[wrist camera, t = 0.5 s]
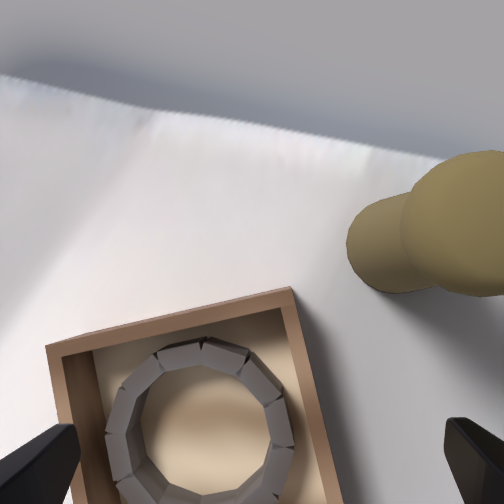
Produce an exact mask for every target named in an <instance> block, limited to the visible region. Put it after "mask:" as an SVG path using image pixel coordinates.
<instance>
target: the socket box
mask: <svg viewBox="0 0 504 504" xmlns="http://www.w3.org/2000/svg"><path fill="white" fill-rule="evenodd" d="M45 348H46V354H47V359H48V365H49V370H50V376H51V381H52V387H53V393H54V398H55V404H56V409H57V415H58V421H59V424H60V423H72V424H74V425H75V426H76V429H77V433H78V437H79V441H80V446H81V459H80V462H79V464H78V467H77V469H76V472H75V474H74V477H73V479H72V481H71V484H70V488H71V493H72V499H73V504H344V503H343V499H342V495H341V491H340V487H339V483H338V479H337V474H336V470H335V466H334V462H333V458H332V454H331V450H330V445H329V441H328V437H327V433H326V429H325V425H324V421H323V416H322V412H321V408H320V404H319V400H318V396H317V392H316V387H315V383H314V379H313V375H312V371H311V367H310V363H309V358H308V354H307V350H306V346H305V342H304V338H303V334H302V329H301V325H300V321H299V317H298V313H297V309H296V305H295V300H294V296H293V292H292V289H291V287H290V286H288V287H284V288H280V289H275V290H271V291H267V292H262V293H258V294H254V295H249V296H245V297H241V298H237V299H232V300H228V301H224V302H219V303H215V304H211V305H206V306H202V307H198V308H193V309H189V310H185V311H180V312H176V313H172V314H167V315H163V316H159V317H154V318H150V319H146V320H141V321H137V322H133V323H128V324H124V325H120V326H115V327H111V328H107V329H102V330H98V331H94V332H89V333H85V334H82V335H79V336H75V337H72V338H69V339H65V340H62V341H59V342H55V343H52V344H49V345H45Z"/></svg>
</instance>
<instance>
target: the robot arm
mask: <svg viewBox="0 0 504 504" xmlns="http://www.w3.org/2000/svg"><path fill="white" fill-rule="evenodd" d="M444 453H445V457H446V459H447V462H448V464H449V467H450V469H451V472H452V474H453V477H454V479H455V481H456V484H457V486H458V489H459V491H460V494H461V496H462V499H463V501H464V503H465V504H504V441H503V440H501V439H499V438H498V437H496V436H495V435H493V434H492V433H490V432H489V431H487V430H486V429H484V428H482V427H481V426H479V425H478V424H476V423H475V422H473V421H472V420H470V419H468V418H465V417H451V418H448V419H447V421H446V427H445V438H444ZM80 459H81V446H80V441H79V437H78V433H77V429H76V426H75V425H74V424H72V423H60V424H56V425H54V426H53V427H51V428H49V429H48V430H46V431H45V432H43V433H42V434H40V435H39V436H37V437H35V438H34V439H32V440H31V441H29V442H28V443H26V444H24V445H23V446H21V447H20V448H18V449H17V450H15V451H14V452H12V453H10V454H9V455H7V456H6V457H4V458H3V459H1V460H0V504H63V501H64V499H65V496H66V494H67V491H68V489H69V486H70V484H71V481H72V479H73V477H74V474H75V472H76V469H77V467H78V464H79V462H80Z"/></svg>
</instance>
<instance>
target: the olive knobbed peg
mask: <svg viewBox="0 0 504 504" xmlns="http://www.w3.org/2000/svg"><path fill="white" fill-rule="evenodd" d="M346 247H347V255H348V259H349V261H350V264H351V266H352V268H353V270H354V272H355V273H356V274H357V275H358V276H359V277H360V278H361V279H362V280H363V281H364V283H366V284H368V285H370V286H371V287H373V288H375V289H377V290H379V291H383V292H388V293H393V294H395V293H405V292H412V291H417V290H421V289H426V288H430V287H435V286H440V287H442V288H444V289H446V290H448V291H450V292H455V293H460V294H465V295H470V296H476V297H488V296H498V295H504V152H500V151H494V150H489V151H481V152H473V153H466V154H461V155H458V156H456V157H453V158H451V159H449V160H447V161H444V162H442V163H440V164H438V165H437V166H435V167H434V168H433V169H431V170H430V171H429V172H428V173H427V174H426V175H425V176H423V177H422V178H421V179H420V180H419V181H418V182H417V183H416V184H415V185H414V187H413V189H412V190H411V192H407V193H404V194H400V195H397V196H393V197H390V198H386V199H383V200H380V201H378V202H375V203H373V204H371V205H369V206H367V207H366V208H365V209H364V210H362V211H361V212H360V213H359V214H358V215H357V216H356V217H355V219H354V221H353V223H352V224H351V226H350V228H349V231H348V236H347V241H346Z"/></svg>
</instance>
